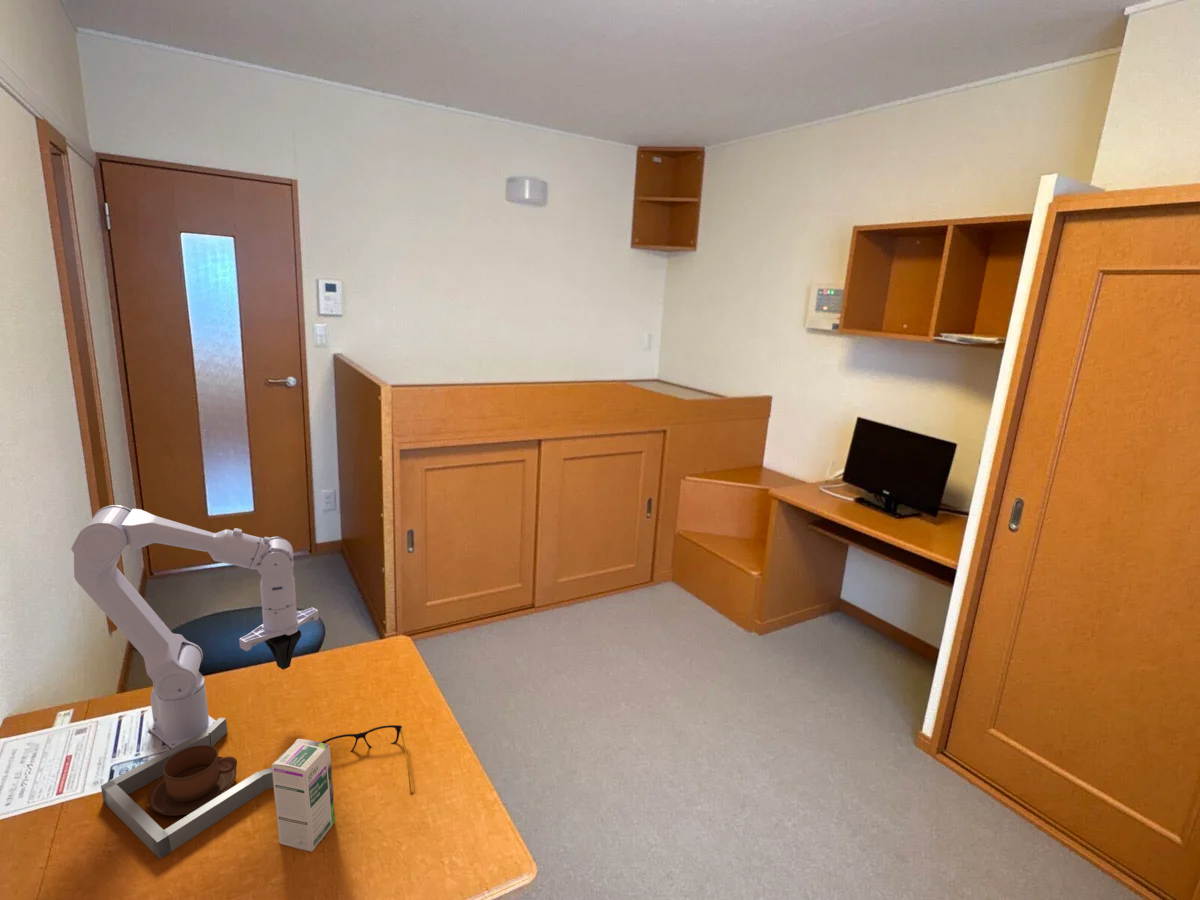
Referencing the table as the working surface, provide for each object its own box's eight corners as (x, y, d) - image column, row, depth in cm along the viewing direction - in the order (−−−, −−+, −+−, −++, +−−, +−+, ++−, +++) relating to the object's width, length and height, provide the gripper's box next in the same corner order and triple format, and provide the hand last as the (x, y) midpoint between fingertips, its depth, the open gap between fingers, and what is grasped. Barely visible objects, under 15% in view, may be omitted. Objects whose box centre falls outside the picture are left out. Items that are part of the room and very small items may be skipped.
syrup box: (312, 853, 91) (307, 771, 88) (277, 844, 92) (270, 763, 89) (336, 822, 97) (331, 743, 93) (302, 814, 98) (297, 736, 94)
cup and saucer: (224, 755, 109) (220, 725, 107) (248, 794, 101) (245, 762, 100) (141, 791, 100) (136, 759, 99) (160, 837, 93) (156, 803, 91)
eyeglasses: (401, 739, 116) (401, 721, 115) (412, 796, 103) (411, 776, 102) (318, 758, 110) (317, 739, 109) (318, 821, 97) (316, 800, 96)
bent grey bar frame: (99, 797, 98) (96, 781, 98) (224, 729, 115) (222, 716, 114) (164, 864, 88) (162, 847, 87) (292, 779, 104) (290, 765, 104)
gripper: (252, 625, 108) (258, 693, 111) (326, 594, 120) (330, 656, 123) (230, 612, 111) (236, 678, 115) (304, 584, 123) (308, 644, 127)
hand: (283, 666), depth 119 cm, fingers closed
